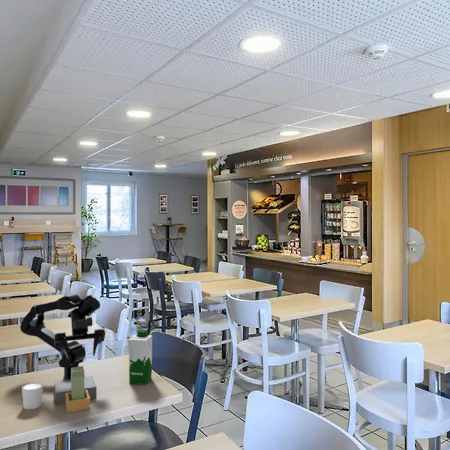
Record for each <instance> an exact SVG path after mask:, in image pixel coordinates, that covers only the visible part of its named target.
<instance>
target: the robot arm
mask: <svg viewBox="0 0 450 450" xmlns="http://www.w3.org/2000/svg"><path fill="white" fill-rule="evenodd" d="M100 307H101V303H100V301H99V300H98V299H97V298H95V296H93V295H92V294H90V295H87V296H85V297H84V298H82V297H81V296H79V295H78V294H77V293H73V294H69V295H63V296H62V297H60V298H57V300H54V301H50V302H45V303H38V304H35V305H32V306H31V308H30V310H29V312H27V314H26V315H25V316H24V317H23V319H22V321H21V323H20V326H19V328H20V331H21V332H22V334H24V335H27V336H29V337H30V336H31V337H36V338H38V339H39V340H41V341H42V342H44V343H46V344H47V345H49V346H50V347H52V348H53V349H54V350H56V351H58V352H59V353H60V356H61V359H60V360H59V361H58V365H59V368H63V376H62V380H68V379H71V368H73V367H80V364H81V363H84V360H85V357H86V348H85V347H84V345H83V344H81V343H79V342H78V341H81V340H83V341H84V340H91V339H93V341H92V342H93V344H92V346H93V347H92V355H93V357H95V356H96V351H97V348H98V345H99V344H102V342H104V341H105V338H106V329H104V328H99V329H94V331H93V333H89V327H92V326H93V317H92V316H91V315H92V314H94V313H95V312H96V311H97V310H99V309H100ZM55 310H57V311H58V310H60V311H68V310H71V311H70V312H69V313H68V314H67V318H70V321H71V335H66V332H56V333H55V332H53V331H52V330H50V329H49V328H47V327H46V325H45V322H44V321H45V314H46V313H48V312H52V311H55ZM90 316H91V317H90Z"/></svg>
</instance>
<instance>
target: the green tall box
mask: <svg viewBox="0 0 450 450" xmlns="http://www.w3.org/2000/svg"><path fill="white" fill-rule="evenodd" d="M84 377H85V369H84V366H83V365H81V366H80V365H79V367H73V368H71V401H72V400H78V399H84Z"/></svg>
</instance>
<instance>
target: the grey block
mask: <svg viewBox="0 0 450 450" xmlns="http://www.w3.org/2000/svg"><path fill="white" fill-rule="evenodd" d="M96 398H97V384H96V382H95V379H94V376H93V375H91V376H84V399H78V400H72V401H71V379H68V380H63V379H62V380H56V381H54V399H55V404H56V405H59V404H64V403H65V408H66V413H72V412H77V411H83V410H90V409H91V399H96Z"/></svg>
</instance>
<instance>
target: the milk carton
mask: <svg viewBox="0 0 450 450" xmlns="http://www.w3.org/2000/svg"><path fill="white" fill-rule="evenodd" d="M136 333H137V334H133V336H131V337H130V338H129V339H128V347H129V348H128V353H129V355H128V361H129V362H128V366H129V367H128V374H129V376H128V379H129V380H128V381H129V384H131V383H134V385H135V384H136V385H147V384H148V383H149V381H150V380H151V379H152V370H153V334H148V331H147V329H138V330H137V331H136ZM146 383H147V384H146Z"/></svg>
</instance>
